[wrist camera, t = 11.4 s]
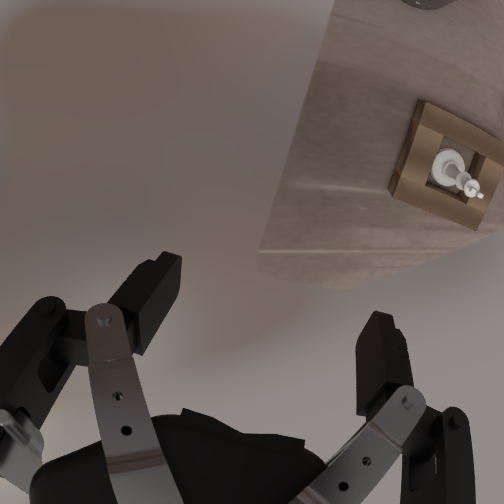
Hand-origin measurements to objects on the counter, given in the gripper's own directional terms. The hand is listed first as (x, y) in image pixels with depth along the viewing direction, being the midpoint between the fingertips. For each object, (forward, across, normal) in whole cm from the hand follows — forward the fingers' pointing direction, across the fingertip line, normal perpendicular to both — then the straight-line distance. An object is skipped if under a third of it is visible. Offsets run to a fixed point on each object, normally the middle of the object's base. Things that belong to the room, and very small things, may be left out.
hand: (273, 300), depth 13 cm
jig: (+28, -18, -4) cm, 33 cm away
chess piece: (+28, -18, -4) cm, 34 cm away
